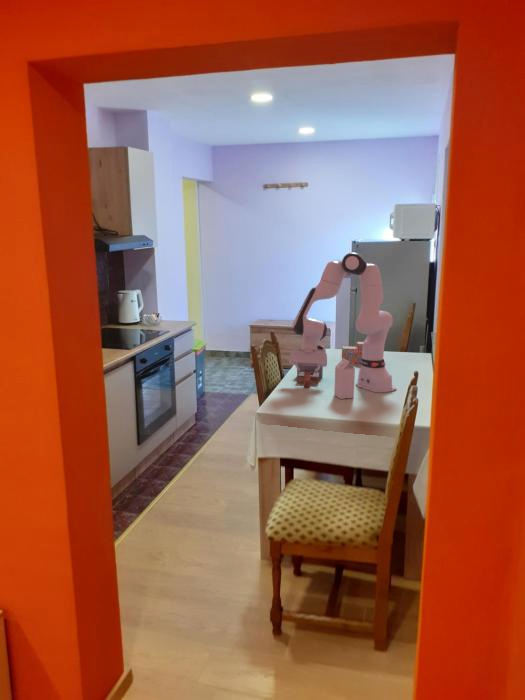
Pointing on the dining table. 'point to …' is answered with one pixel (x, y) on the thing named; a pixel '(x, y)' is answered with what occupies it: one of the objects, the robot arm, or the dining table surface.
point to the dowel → (307, 379)
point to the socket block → (313, 377)
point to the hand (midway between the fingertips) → (307, 371)
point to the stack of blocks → (353, 353)
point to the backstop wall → (310, 369)
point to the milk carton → (344, 380)
